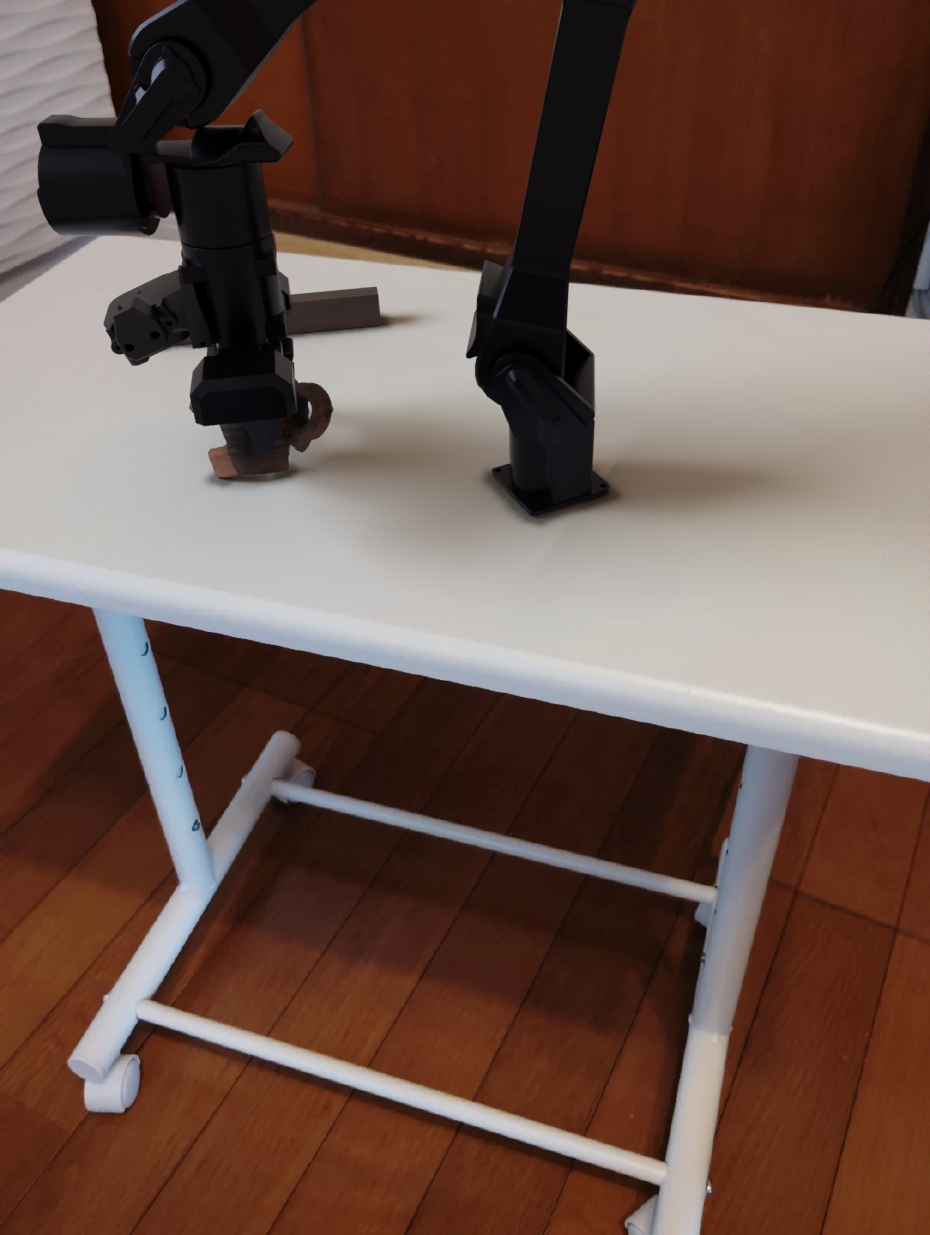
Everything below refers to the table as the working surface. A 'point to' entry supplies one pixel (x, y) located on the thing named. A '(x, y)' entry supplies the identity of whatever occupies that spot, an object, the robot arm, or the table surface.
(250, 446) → the pottery mug
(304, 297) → the rail
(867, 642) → the table surface
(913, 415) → the table surface
